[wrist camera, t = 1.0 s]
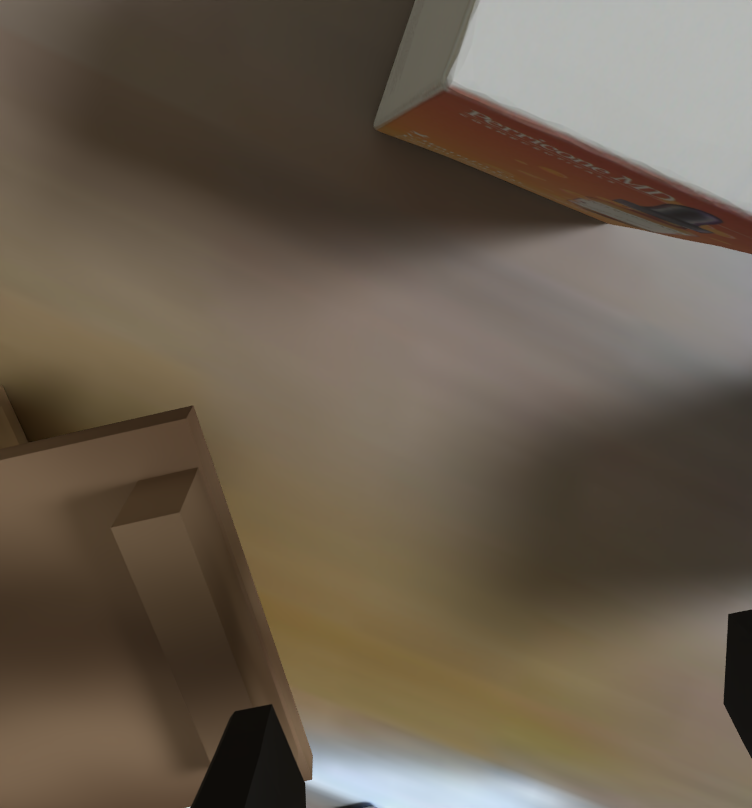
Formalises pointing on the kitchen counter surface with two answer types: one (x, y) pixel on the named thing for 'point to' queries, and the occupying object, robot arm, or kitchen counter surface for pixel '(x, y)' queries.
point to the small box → (590, 105)
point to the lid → (125, 619)
